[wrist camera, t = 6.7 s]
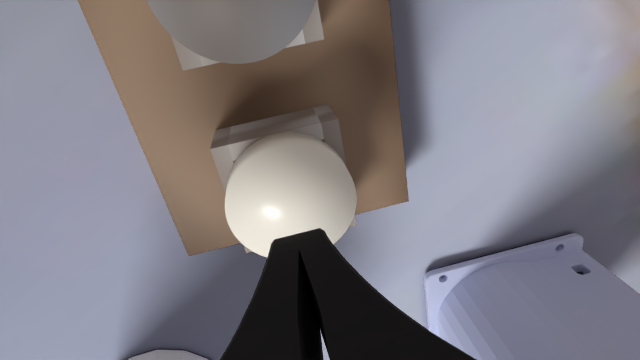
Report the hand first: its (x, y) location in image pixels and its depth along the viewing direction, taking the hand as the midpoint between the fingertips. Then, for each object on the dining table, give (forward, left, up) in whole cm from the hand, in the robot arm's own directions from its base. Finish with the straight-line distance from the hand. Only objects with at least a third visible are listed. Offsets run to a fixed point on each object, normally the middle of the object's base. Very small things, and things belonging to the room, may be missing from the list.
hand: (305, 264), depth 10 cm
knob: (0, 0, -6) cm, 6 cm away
